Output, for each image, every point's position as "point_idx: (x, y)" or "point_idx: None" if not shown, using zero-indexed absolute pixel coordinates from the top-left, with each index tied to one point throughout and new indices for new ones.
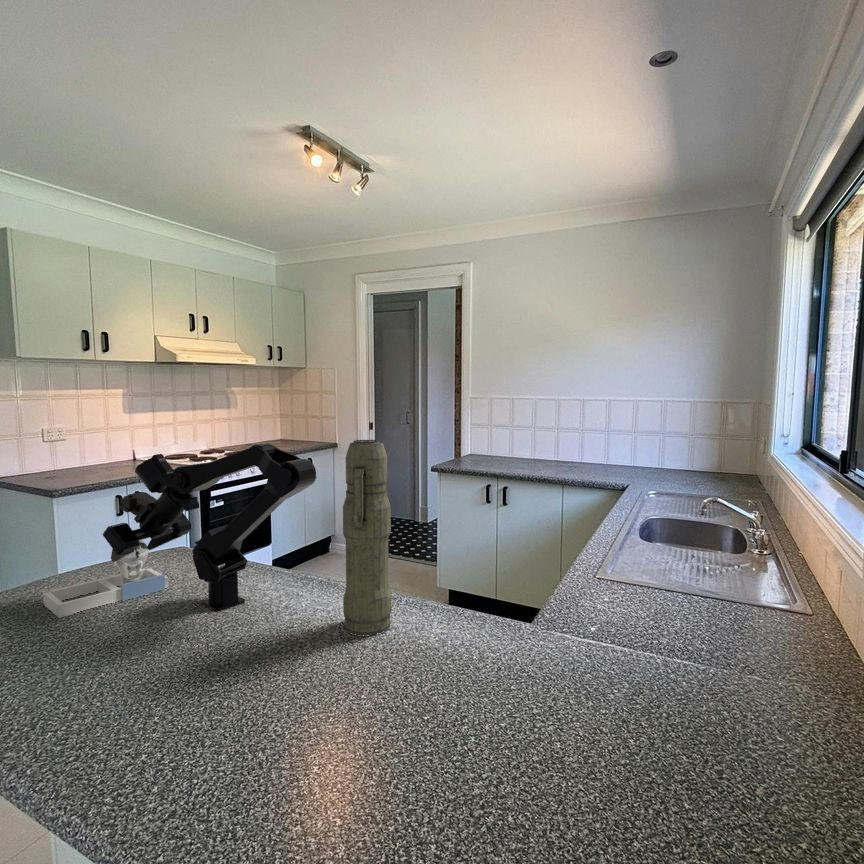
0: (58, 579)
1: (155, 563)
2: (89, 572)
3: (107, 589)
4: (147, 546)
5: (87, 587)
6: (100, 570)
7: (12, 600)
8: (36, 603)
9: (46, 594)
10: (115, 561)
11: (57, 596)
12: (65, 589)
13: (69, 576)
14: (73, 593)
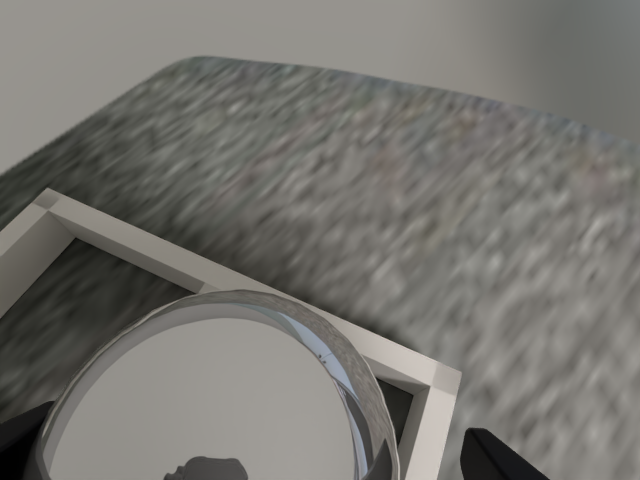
0: (303, 88)
1: (586, 250)
2: (388, 116)
3: None
4: (472, 434)
5: (175, 273)
6: (418, 131)
7: (113, 111)
8: (84, 190)
9: (15, 220)
10: None
11: (84, 234)
12: (96, 234)
13: (336, 95)
14: (133, 258)
